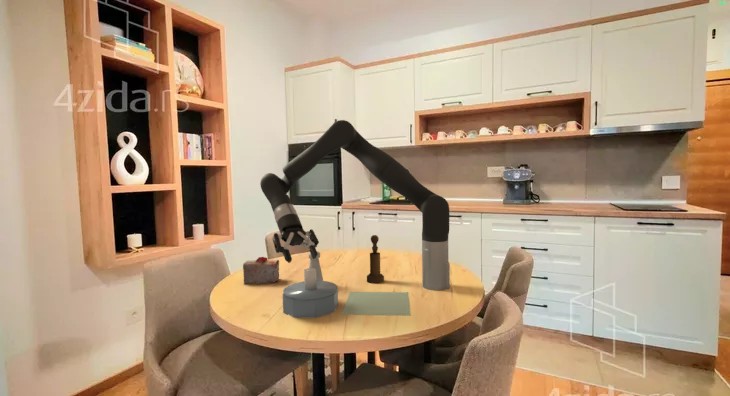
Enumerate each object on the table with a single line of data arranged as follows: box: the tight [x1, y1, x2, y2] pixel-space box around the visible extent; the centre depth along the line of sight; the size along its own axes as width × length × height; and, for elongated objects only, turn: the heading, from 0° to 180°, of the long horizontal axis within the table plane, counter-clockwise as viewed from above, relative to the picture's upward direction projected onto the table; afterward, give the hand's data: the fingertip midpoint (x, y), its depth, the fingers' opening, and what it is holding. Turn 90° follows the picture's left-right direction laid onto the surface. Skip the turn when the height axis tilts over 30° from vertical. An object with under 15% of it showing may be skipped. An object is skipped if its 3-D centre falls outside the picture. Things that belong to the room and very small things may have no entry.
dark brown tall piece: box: [366, 234, 385, 285], centre depth 132 cm, size 7×6×18 cm
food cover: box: [282, 267, 339, 319], centre depth 106 cm, size 16×16×12 cm
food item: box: [242, 256, 280, 285], centre depth 136 cm, size 14×8×10 cm, turn 93°
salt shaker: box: [308, 250, 324, 281], centre depth 128 cm, size 6×6×13 cm
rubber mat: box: [340, 291, 411, 317], centre depth 109 cm, size 20×20×1 cm
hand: (302, 259), depth 109 cm, fingers open, 8 cm apart
